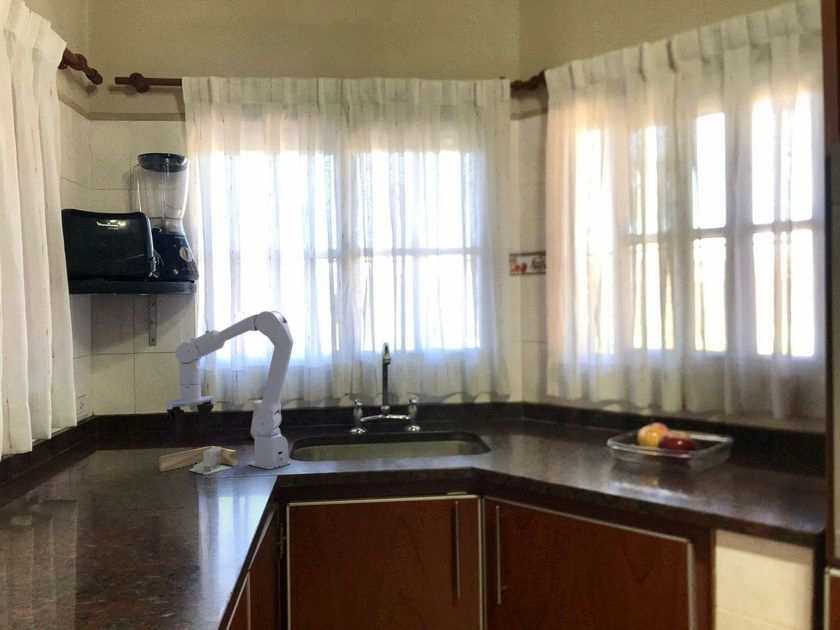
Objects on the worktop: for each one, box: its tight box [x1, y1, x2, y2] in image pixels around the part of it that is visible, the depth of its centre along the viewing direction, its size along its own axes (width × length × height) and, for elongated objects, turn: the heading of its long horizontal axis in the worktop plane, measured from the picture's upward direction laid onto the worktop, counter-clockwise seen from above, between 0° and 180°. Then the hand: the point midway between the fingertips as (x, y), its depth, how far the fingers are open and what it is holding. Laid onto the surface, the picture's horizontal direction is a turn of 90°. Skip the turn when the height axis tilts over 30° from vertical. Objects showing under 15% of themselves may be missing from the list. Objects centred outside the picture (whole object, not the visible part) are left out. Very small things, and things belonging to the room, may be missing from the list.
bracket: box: [193, 446, 222, 472], centre depth 175 cm, size 6×5×6 cm
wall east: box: [158, 445, 212, 472], centre depth 180 cm, size 1×16×4 cm, turn 143°
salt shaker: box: [250, 399, 263, 440], centre depth 217 cm, size 6×6×13 cm
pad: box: [189, 464, 232, 476], centre depth 175 cm, size 8×8×1 cm
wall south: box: [210, 445, 238, 466], centre depth 183 cm, size 12×1×4 cm, turn 52°
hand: (191, 430), depth 181 cm, fingers open, 7 cm apart
